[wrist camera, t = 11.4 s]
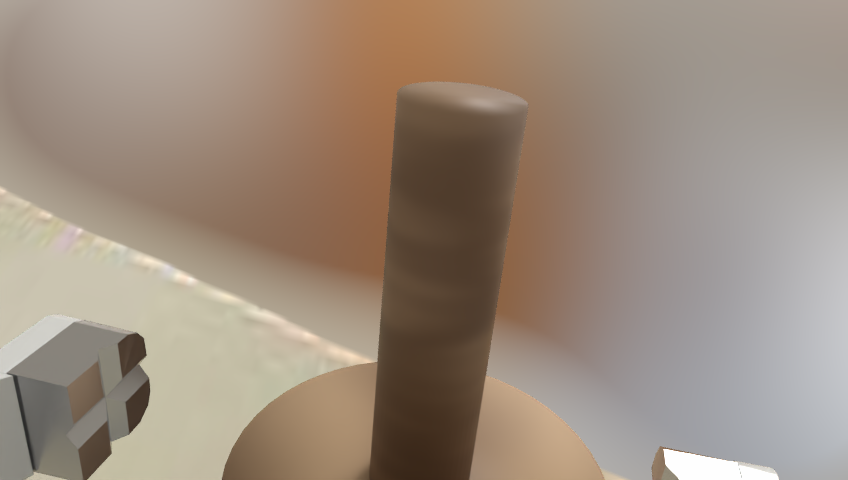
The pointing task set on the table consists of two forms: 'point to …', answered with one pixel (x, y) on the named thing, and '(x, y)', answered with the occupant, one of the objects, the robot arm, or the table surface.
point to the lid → (428, 325)
